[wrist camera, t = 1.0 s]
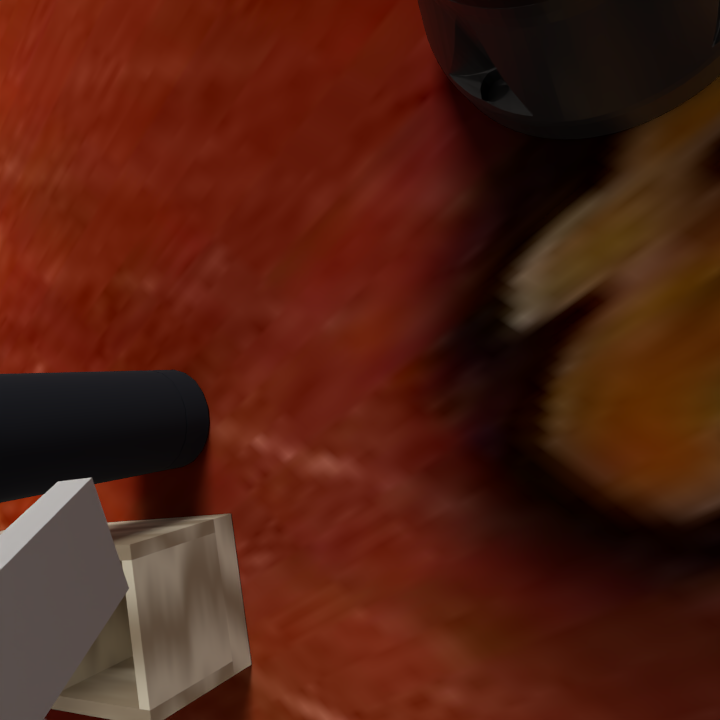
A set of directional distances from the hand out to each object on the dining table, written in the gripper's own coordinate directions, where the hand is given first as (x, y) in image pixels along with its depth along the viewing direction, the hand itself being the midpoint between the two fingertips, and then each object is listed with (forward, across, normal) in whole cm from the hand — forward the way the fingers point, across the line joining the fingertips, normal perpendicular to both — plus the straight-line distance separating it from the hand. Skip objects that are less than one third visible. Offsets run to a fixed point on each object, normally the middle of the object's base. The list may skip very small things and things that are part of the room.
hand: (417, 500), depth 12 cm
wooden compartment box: (+25, -25, -19) cm, 40 cm away
